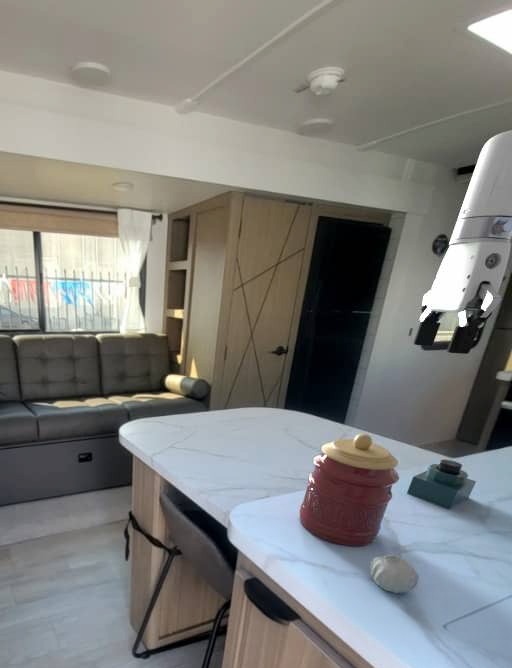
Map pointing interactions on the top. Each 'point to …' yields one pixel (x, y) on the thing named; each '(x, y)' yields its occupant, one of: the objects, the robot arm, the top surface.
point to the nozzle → (450, 467)
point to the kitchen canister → (349, 491)
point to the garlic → (393, 574)
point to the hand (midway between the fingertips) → (438, 348)
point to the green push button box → (441, 487)
